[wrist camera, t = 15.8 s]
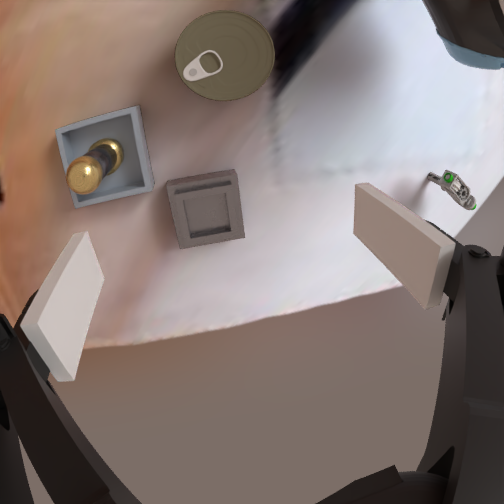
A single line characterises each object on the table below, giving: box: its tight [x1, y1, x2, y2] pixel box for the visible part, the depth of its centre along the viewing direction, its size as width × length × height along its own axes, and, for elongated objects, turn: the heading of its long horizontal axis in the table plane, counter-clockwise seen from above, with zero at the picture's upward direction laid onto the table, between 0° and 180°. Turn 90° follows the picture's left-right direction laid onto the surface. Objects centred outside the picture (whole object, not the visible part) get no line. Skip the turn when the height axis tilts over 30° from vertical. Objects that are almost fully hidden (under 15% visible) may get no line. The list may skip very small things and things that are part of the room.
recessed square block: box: [166, 169, 245, 249], centre depth 46 cm, size 10×10×4 cm
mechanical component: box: [428, 170, 476, 210], centre depth 48 cm, size 3×10×10 cm, turn 60°
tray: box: [55, 105, 155, 209], centre depth 40 cm, size 12×12×4 cm
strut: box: [66, 138, 124, 195], centre depth 35 cm, size 5×5×13 cm
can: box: [175, 10, 275, 101], centre depth 35 cm, size 12×12×7 cm
